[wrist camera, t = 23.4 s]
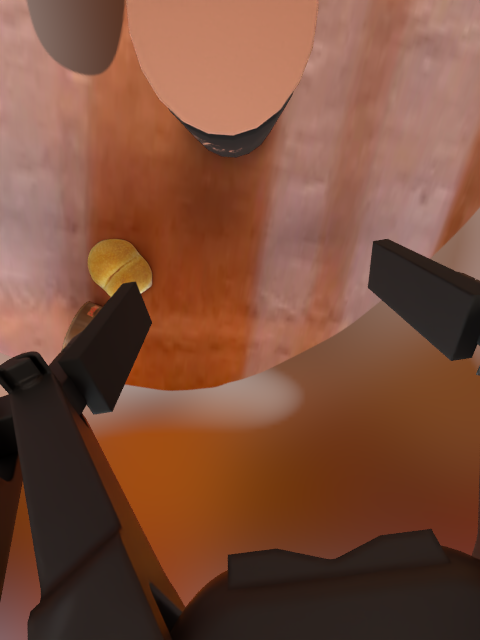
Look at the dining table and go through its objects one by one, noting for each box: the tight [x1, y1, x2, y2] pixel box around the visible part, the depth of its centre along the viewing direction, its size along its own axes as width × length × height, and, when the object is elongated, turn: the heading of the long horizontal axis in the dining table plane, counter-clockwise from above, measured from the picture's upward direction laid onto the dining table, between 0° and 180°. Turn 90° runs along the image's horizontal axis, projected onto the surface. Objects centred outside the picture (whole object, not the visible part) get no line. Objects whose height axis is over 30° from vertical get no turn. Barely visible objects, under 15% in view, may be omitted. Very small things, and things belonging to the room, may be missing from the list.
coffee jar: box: [126, 0, 318, 157], centre depth 22 cm, size 11×11×18 cm
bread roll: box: [88, 239, 152, 297], centre depth 38 cm, size 8×9×4 cm
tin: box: [62, 301, 102, 350], centre depth 41 cm, size 15×3×8 cm, turn 152°
